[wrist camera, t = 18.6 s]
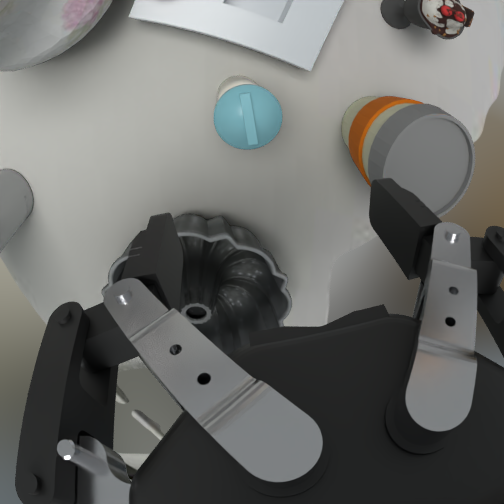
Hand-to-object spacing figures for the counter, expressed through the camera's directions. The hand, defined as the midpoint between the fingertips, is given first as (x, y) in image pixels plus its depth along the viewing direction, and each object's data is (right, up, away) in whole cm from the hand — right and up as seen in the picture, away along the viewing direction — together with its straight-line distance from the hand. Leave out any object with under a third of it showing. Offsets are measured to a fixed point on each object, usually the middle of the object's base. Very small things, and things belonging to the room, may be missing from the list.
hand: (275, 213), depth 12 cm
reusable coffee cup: (+15, +16, +26) cm, 34 cm away
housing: (-2, +28, +14) cm, 31 cm away
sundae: (+18, +29, +16) cm, 38 cm away
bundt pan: (-9, -4, +38) cm, 39 cm away
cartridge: (-3, +17, +22) cm, 28 cm away
